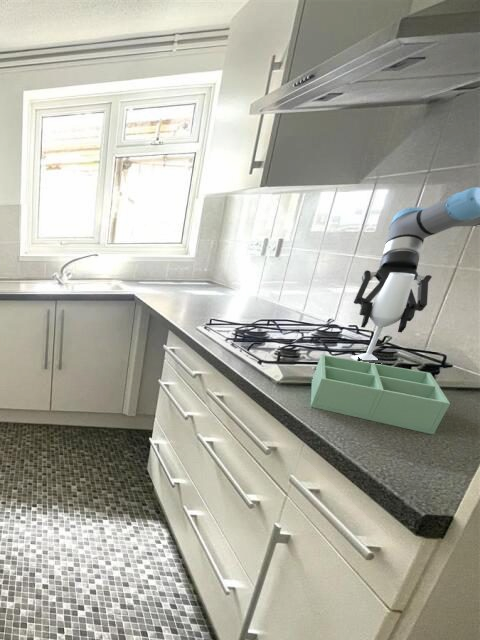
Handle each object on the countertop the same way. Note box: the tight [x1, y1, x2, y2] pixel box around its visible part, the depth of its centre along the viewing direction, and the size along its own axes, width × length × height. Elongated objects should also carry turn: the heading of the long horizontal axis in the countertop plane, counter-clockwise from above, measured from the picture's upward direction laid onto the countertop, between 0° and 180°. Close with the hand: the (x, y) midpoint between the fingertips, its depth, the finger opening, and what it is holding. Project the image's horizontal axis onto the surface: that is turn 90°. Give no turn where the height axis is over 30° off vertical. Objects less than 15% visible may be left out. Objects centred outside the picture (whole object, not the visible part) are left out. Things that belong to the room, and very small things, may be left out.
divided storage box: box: [310, 354, 451, 436], centre depth 91 cm, size 19×19×7 cm
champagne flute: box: [350, 272, 415, 360], centre depth 113 cm, size 7×7×24 cm
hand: (382, 327), depth 111 cm, fingers closed on champagne flute, 7 cm apart
